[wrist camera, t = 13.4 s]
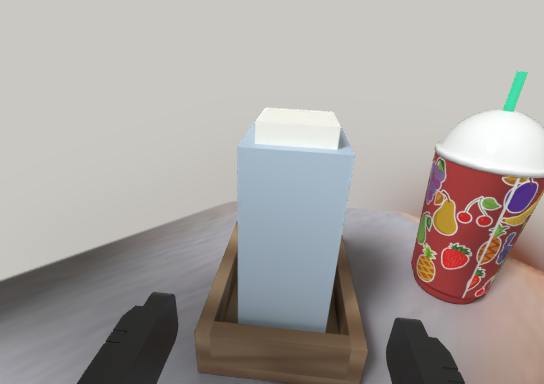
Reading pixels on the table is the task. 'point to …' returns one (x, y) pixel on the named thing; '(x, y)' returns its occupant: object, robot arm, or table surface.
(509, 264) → the table surface
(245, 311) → the carton
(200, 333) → the crate
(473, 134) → the smoothie
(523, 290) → the table surface
